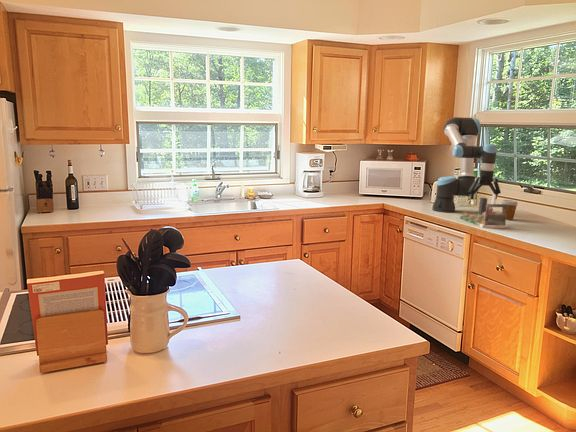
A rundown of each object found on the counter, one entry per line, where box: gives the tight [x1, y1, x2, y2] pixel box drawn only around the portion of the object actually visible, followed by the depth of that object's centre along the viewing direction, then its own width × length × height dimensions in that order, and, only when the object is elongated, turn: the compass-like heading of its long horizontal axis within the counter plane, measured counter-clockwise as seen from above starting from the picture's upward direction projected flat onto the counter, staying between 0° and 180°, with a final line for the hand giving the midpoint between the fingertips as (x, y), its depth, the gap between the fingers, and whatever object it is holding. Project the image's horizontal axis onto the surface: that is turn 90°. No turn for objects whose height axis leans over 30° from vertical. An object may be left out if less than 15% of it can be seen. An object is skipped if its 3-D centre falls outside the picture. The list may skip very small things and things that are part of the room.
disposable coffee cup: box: [501, 199, 519, 221], centre depth 306 cm, size 10×10×12 cm
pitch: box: [459, 203, 508, 229], centre depth 291 cm, size 26×16×14 cm, turn 9°
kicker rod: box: [477, 197, 496, 220], centre depth 289 cm, size 11×6×13 cm, turn 9°
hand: (482, 204), depth 292 cm, fingers open, 13 cm apart
